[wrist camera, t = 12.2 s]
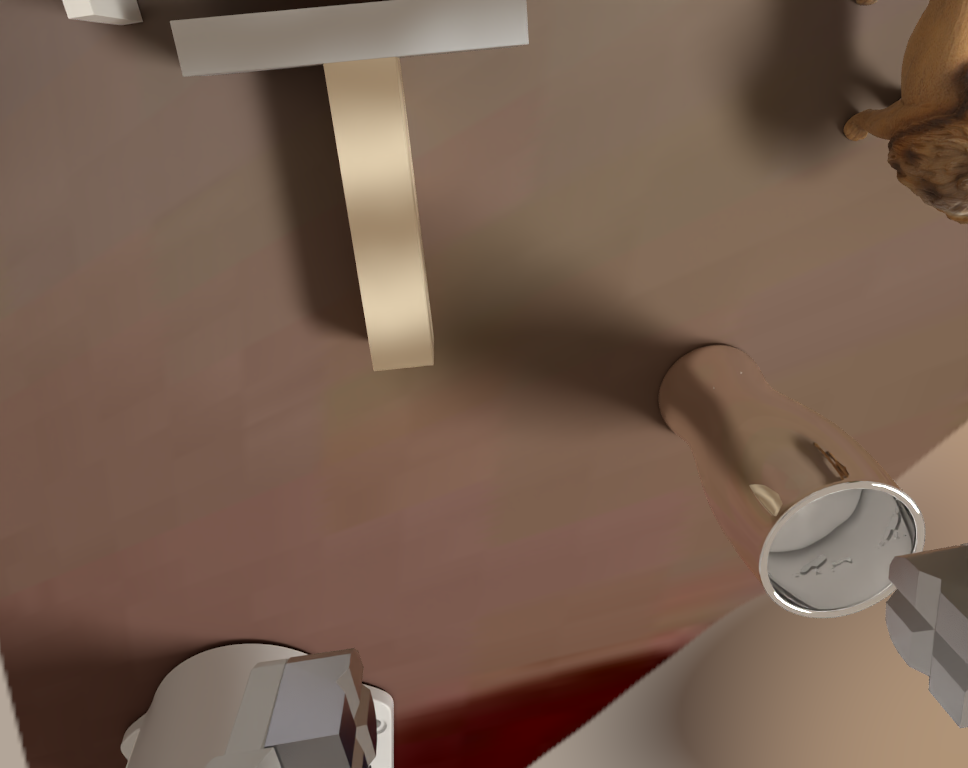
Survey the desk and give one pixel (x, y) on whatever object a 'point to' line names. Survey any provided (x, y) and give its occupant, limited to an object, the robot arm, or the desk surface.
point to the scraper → (365, 126)
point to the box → (104, 11)
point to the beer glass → (789, 486)
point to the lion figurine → (929, 111)
